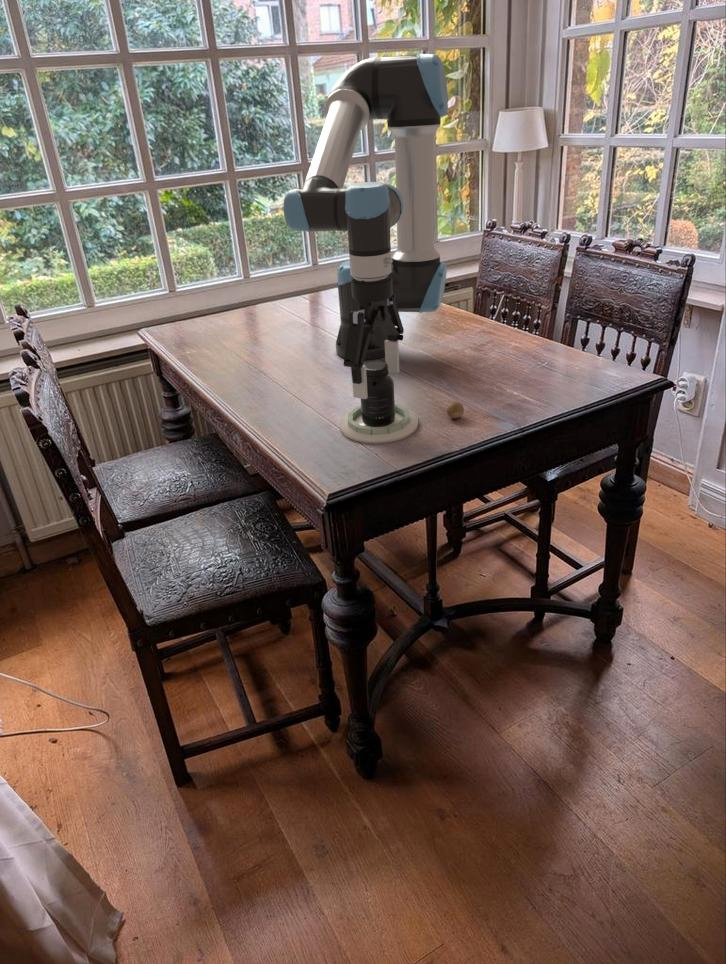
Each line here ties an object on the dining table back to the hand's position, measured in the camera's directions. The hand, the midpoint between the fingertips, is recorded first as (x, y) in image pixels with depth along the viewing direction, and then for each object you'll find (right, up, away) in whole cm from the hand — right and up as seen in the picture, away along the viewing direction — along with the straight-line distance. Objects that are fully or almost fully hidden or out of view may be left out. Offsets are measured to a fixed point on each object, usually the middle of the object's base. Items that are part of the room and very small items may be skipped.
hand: (377, 384), depth 135 cm
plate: (0, -8, +4) cm, 9 cm away
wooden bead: (+16, -6, +5) cm, 18 cm away
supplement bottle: (0, -7, +4) cm, 8 cm away
